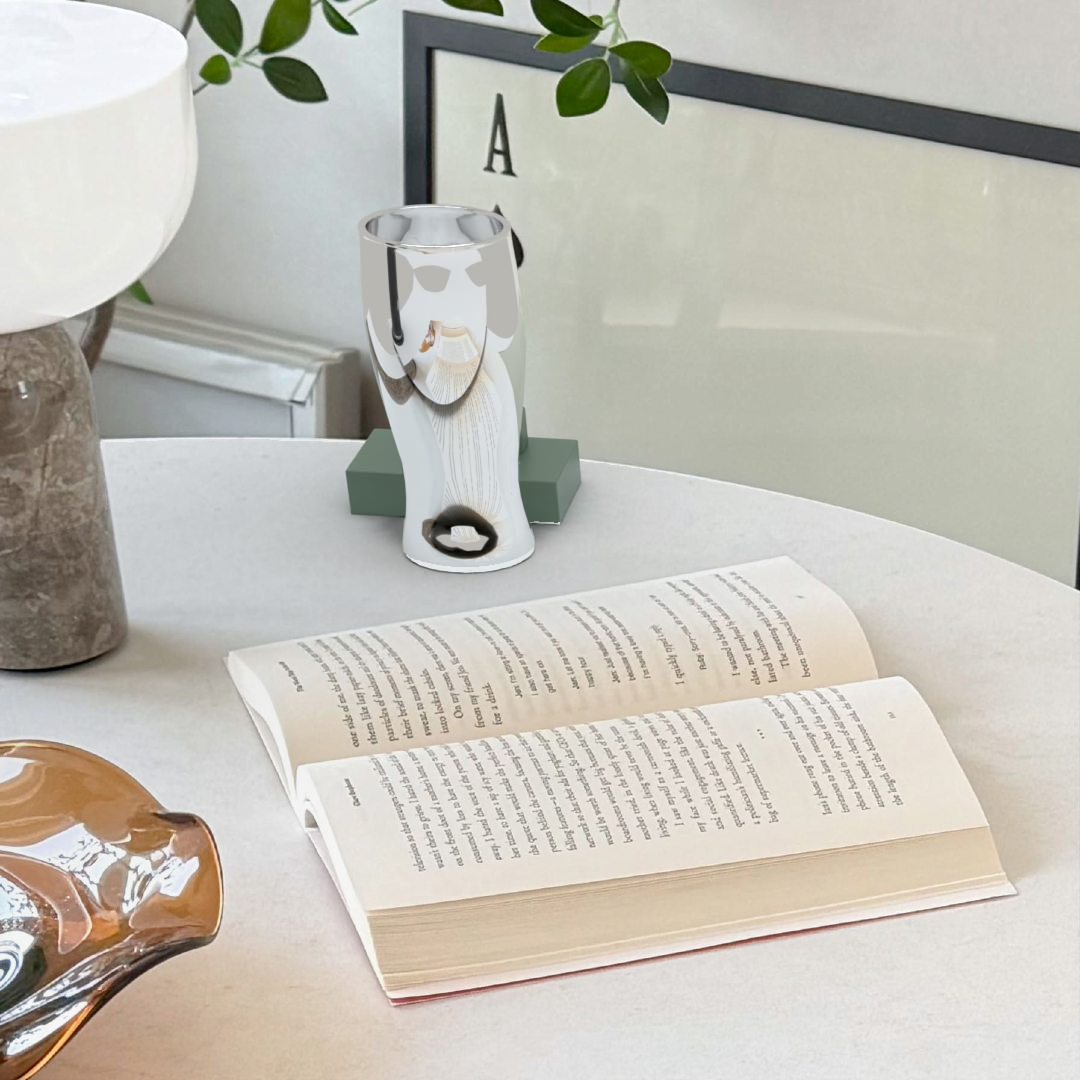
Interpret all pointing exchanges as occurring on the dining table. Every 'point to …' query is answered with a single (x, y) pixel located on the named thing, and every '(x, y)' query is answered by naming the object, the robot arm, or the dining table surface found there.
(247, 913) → the dining table surface
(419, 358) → the beer glass
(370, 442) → the green block
